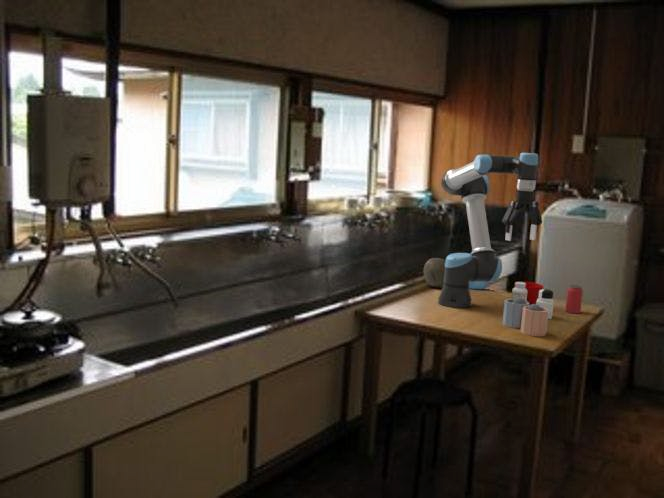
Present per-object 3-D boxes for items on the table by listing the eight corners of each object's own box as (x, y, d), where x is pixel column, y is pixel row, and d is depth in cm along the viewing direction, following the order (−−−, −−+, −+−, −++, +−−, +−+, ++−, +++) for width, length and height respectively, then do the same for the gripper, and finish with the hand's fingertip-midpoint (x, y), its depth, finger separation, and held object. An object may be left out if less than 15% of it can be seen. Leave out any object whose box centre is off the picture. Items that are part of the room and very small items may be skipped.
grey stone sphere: (455, 289, 373) (457, 259, 371) (433, 290, 366) (436, 261, 363) (437, 283, 385) (439, 255, 382) (415, 284, 377) (418, 256, 375)
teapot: (483, 285, 389) (485, 265, 387) (494, 291, 374) (496, 271, 372) (456, 284, 386) (458, 265, 385) (466, 290, 372) (468, 270, 370)
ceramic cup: (533, 300, 357) (535, 280, 355) (544, 309, 340) (547, 288, 338) (507, 299, 356) (509, 279, 355) (516, 307, 339) (519, 286, 338)
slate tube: (497, 322, 309) (499, 299, 307) (515, 321, 314) (518, 298, 312) (513, 328, 301) (515, 305, 299) (531, 327, 305) (534, 303, 304)
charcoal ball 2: (525, 320, 295) (522, 306, 299) (536, 322, 298) (533, 308, 301) (534, 314, 291) (531, 300, 294) (546, 316, 294) (543, 302, 297)
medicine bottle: (552, 316, 328) (555, 289, 326) (551, 319, 321) (554, 292, 319) (535, 313, 330) (538, 287, 328) (534, 317, 323) (537, 290, 321)
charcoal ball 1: (511, 310, 303) (524, 303, 301) (507, 300, 307) (519, 292, 305) (518, 317, 307) (531, 310, 304) (514, 306, 311) (526, 299, 309)
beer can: (581, 314, 334) (584, 288, 332) (566, 312, 336) (569, 287, 334) (579, 311, 341) (582, 285, 339) (564, 309, 342) (567, 284, 340)
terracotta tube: (515, 330, 298) (517, 306, 297) (534, 328, 303) (536, 305, 301) (532, 337, 290) (534, 312, 288) (551, 335, 295) (553, 310, 293)
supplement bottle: (515, 308, 339) (518, 280, 337) (528, 311, 334) (531, 283, 332) (507, 309, 334) (510, 282, 332) (520, 313, 329) (523, 285, 327)
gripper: (508, 190, 299) (503, 242, 302) (554, 191, 311) (548, 241, 314) (496, 188, 305) (491, 239, 309) (541, 189, 317) (536, 238, 321)
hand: (520, 240), depth 311 cm, fingers open, 13 cm apart
